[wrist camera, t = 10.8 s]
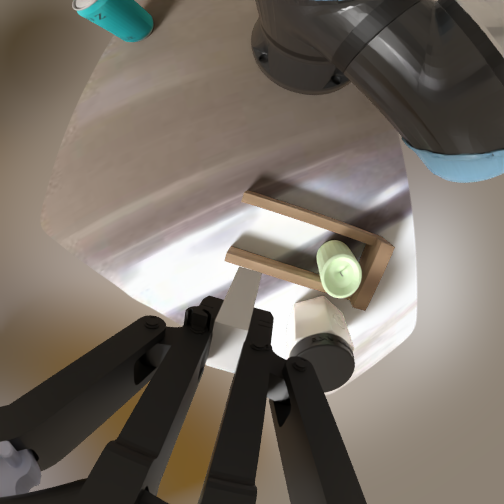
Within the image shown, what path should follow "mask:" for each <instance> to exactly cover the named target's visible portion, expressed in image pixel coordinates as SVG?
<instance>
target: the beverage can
mask: <svg viewBox="0 0 504 504" xmlns="http://www.w3.org/2000/svg"><path fill="white" fill-rule="evenodd" d="M72 7H73V9H74V10H77V12H78V14H79V15H81V16H82V17H85V18H86V19H88V20H90V21H92V22H93V23H95V24H97V25H99V26H100V27H102V28H104V29H106V30H107V31H109V32H111V33H113V34H114V35H116V36H117V37H119V38H121V39H122V40H124V41H127V42H139V41H142V40H144V39H145V38H147V37H148V36H149V35H150V33H151V32H152V30H153V26H154V25H153V19H152V16H151V15H150V14H149V13H148V12H147V11H146V10H144V9H143V8H142V7H141V6H140V5H139V4H138V3H137V2H135V1H134V0H73V3H72Z"/></svg>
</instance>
